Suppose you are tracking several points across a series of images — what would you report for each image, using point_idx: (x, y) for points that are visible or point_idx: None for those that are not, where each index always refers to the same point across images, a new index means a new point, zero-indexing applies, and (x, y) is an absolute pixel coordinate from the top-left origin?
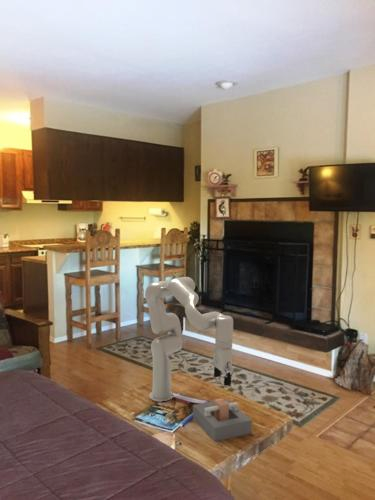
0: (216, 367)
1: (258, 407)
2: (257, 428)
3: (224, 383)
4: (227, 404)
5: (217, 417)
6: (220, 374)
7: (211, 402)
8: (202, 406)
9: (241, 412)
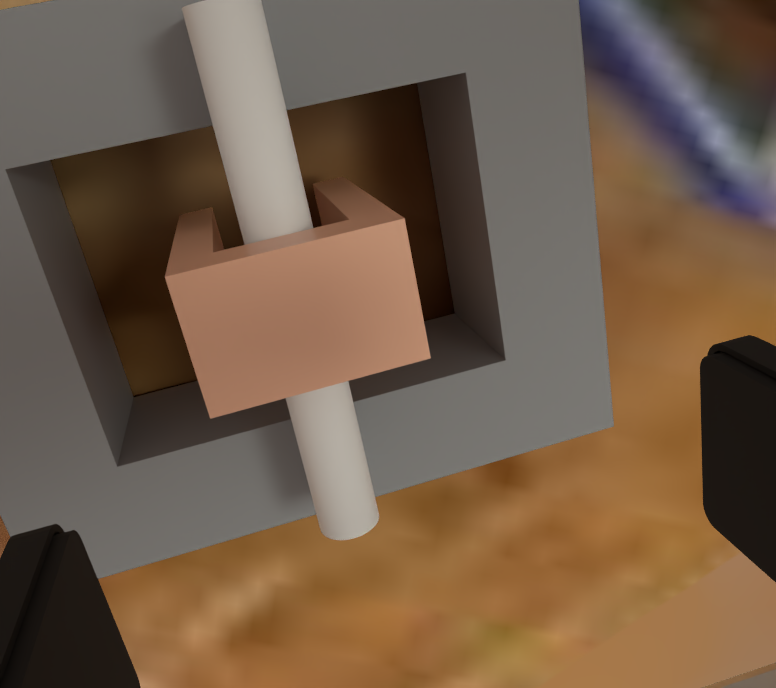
0: (762, 684)
1: (546, 652)
2: (174, 578)
3: (2, 572)
4: (203, 392)
5: (324, 221)
6: (739, 547)
7: (579, 211)
8: (499, 48)
9: (252, 520)
